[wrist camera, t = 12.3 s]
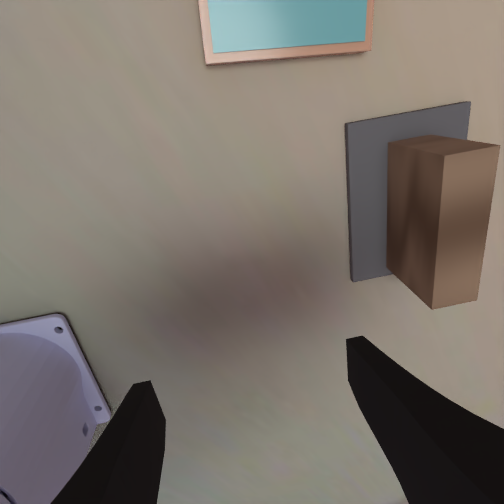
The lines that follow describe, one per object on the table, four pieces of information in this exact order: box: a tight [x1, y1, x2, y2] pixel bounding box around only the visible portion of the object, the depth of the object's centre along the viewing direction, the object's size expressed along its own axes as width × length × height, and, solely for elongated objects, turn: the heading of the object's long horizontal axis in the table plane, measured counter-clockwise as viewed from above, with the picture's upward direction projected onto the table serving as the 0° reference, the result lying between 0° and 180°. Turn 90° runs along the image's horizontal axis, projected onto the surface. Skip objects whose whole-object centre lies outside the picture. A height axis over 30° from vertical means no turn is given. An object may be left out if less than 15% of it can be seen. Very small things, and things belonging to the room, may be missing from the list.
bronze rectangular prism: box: [386, 134, 500, 310], centre depth 18 cm, size 8×2×5 cm, turn 9°
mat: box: [345, 102, 471, 282], centre depth 21 cm, size 10×7×1 cm
